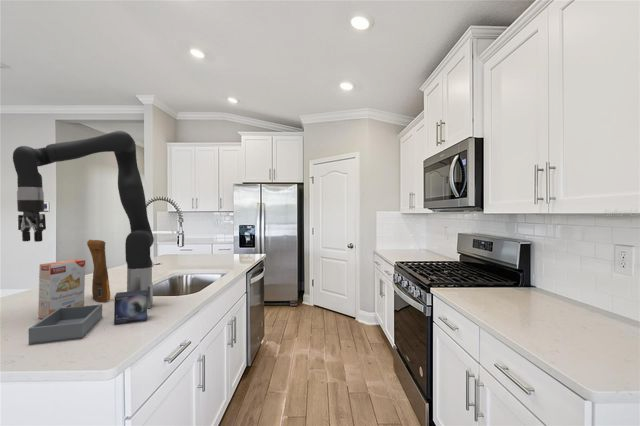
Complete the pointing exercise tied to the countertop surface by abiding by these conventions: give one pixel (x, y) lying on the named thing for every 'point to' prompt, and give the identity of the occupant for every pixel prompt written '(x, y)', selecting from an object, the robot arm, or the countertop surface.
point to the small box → (130, 307)
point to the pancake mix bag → (99, 271)
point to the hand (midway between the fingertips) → (32, 241)
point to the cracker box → (61, 286)
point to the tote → (65, 324)
